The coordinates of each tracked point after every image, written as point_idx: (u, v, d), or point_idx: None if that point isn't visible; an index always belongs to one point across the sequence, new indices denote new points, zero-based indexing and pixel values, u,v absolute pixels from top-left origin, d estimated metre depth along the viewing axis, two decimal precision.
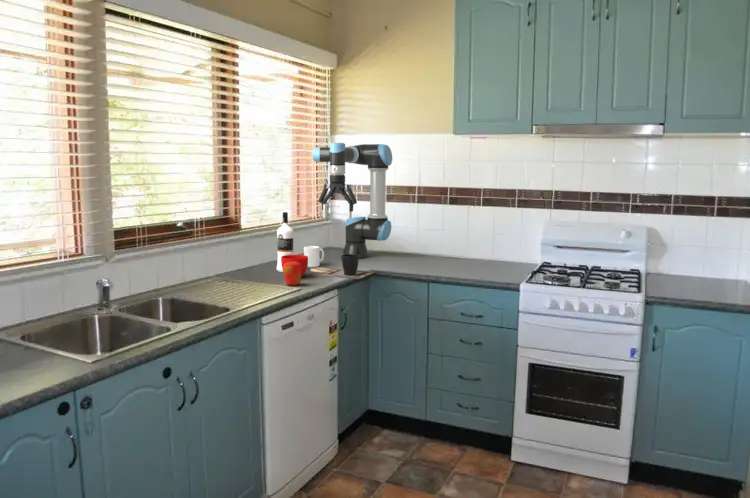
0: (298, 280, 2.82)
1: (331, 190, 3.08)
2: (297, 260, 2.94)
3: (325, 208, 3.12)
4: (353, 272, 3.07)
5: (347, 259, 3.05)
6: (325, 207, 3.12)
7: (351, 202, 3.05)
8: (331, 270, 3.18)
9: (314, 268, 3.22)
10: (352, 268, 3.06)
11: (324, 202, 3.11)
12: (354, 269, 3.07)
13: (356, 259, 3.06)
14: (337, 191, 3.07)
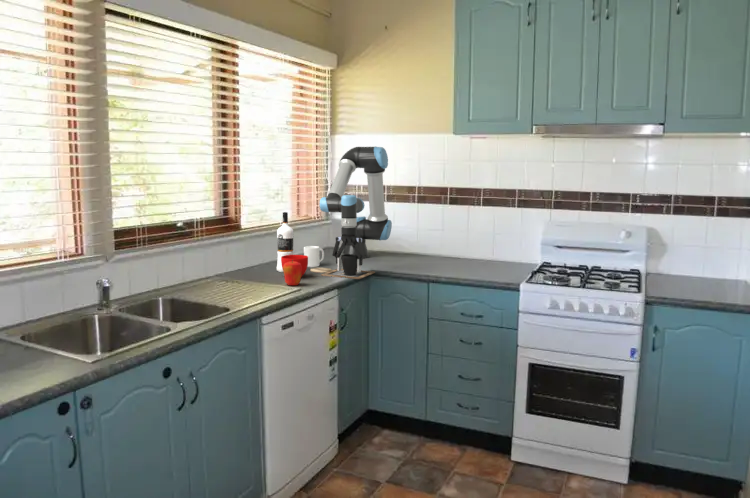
0: (298, 280, 2.82)
1: (343, 243, 3.08)
2: (297, 260, 2.94)
3: (339, 262, 3.12)
4: (353, 272, 3.07)
5: (347, 259, 3.05)
6: (339, 261, 3.12)
7: (360, 256, 3.06)
8: (331, 270, 3.18)
9: (314, 268, 3.22)
10: (352, 268, 3.06)
11: (338, 255, 3.11)
12: (354, 269, 3.07)
13: (356, 259, 3.06)
14: (349, 243, 3.08)
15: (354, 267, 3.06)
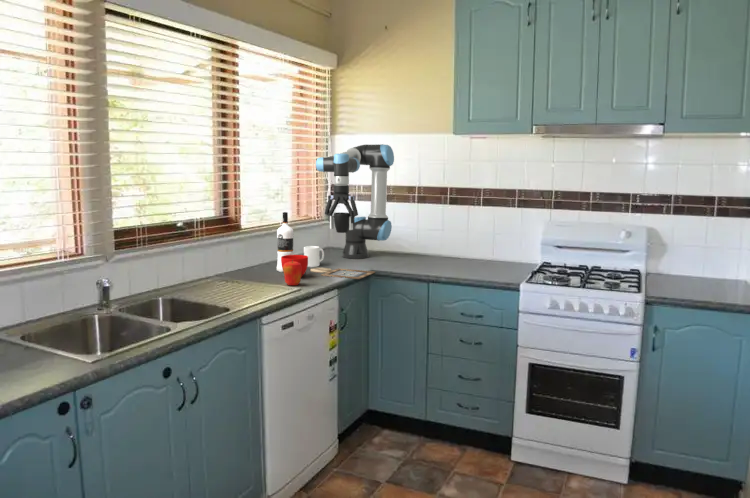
0: (298, 280, 2.82)
1: (335, 201, 3.11)
2: (297, 260, 2.94)
3: (331, 220, 3.15)
4: (345, 230, 3.10)
5: (339, 216, 3.08)
6: (331, 219, 3.15)
7: (352, 214, 3.10)
8: (331, 270, 3.18)
9: (314, 268, 3.22)
10: (344, 225, 3.09)
11: (330, 214, 3.15)
12: (346, 227, 3.10)
13: (348, 216, 3.09)
14: (341, 201, 3.11)
15: (346, 225, 3.09)
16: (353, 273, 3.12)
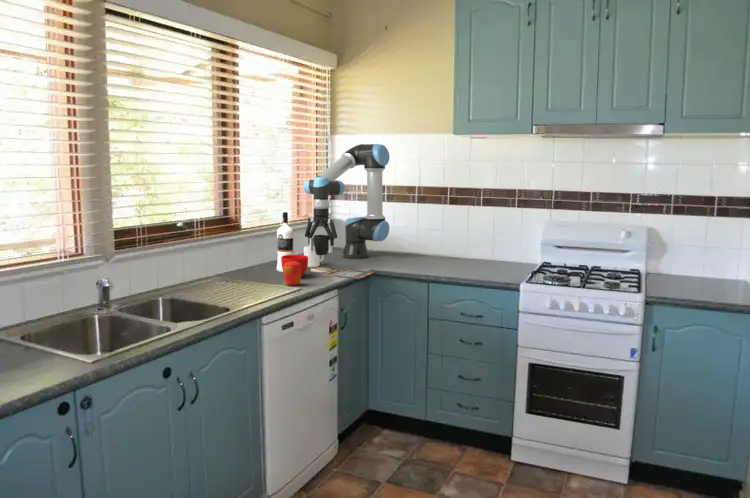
0: (298, 280, 2.82)
1: (315, 223, 3.15)
2: (297, 260, 2.94)
3: (311, 242, 3.19)
4: (324, 252, 3.14)
5: (318, 239, 3.12)
6: (311, 241, 3.19)
7: (332, 237, 3.14)
8: (331, 270, 3.18)
9: (314, 268, 3.22)
10: (323, 248, 3.13)
11: (310, 236, 3.19)
12: (325, 249, 3.14)
13: (327, 239, 3.13)
14: (320, 224, 3.15)
15: (325, 247, 3.13)
16: (353, 273, 3.12)
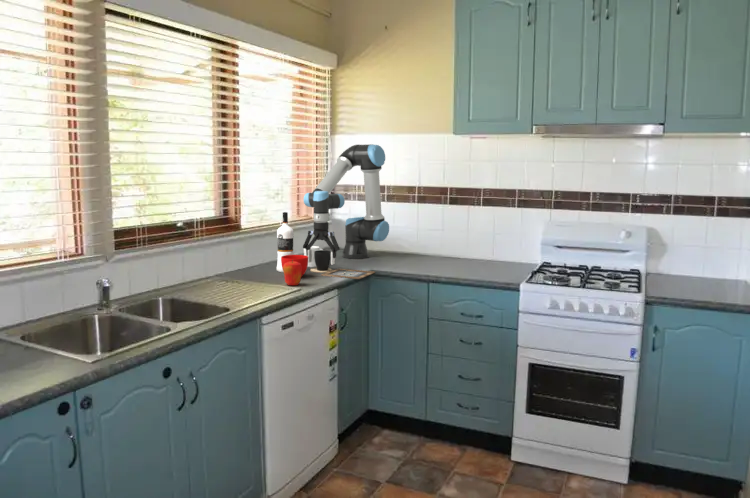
0: (298, 280, 2.82)
1: (315, 237, 3.17)
2: (297, 260, 2.94)
3: (309, 254, 3.21)
4: (325, 268, 3.15)
5: (318, 255, 3.13)
6: (309, 253, 3.20)
7: (334, 249, 3.14)
8: (331, 270, 3.18)
9: (314, 268, 3.22)
10: (324, 264, 3.14)
11: (308, 248, 3.20)
12: (326, 265, 3.15)
13: (328, 255, 3.14)
14: (321, 238, 3.16)
15: (326, 263, 3.15)
16: (353, 273, 3.12)
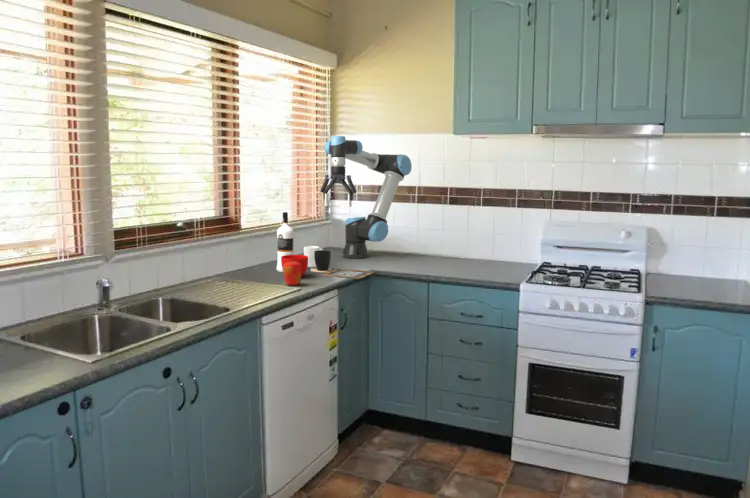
0: (298, 280, 2.82)
1: (332, 180, 3.29)
2: (296, 260, 2.94)
3: (326, 197, 3.33)
4: (325, 268, 3.15)
5: (318, 255, 3.13)
6: (326, 196, 3.33)
7: (351, 191, 3.26)
8: (331, 270, 3.18)
9: (314, 268, 3.22)
10: (324, 264, 3.14)
11: (325, 192, 3.32)
12: (326, 265, 3.15)
13: (328, 255, 3.14)
14: (338, 181, 3.28)
15: (326, 263, 3.15)
16: (353, 273, 3.12)
